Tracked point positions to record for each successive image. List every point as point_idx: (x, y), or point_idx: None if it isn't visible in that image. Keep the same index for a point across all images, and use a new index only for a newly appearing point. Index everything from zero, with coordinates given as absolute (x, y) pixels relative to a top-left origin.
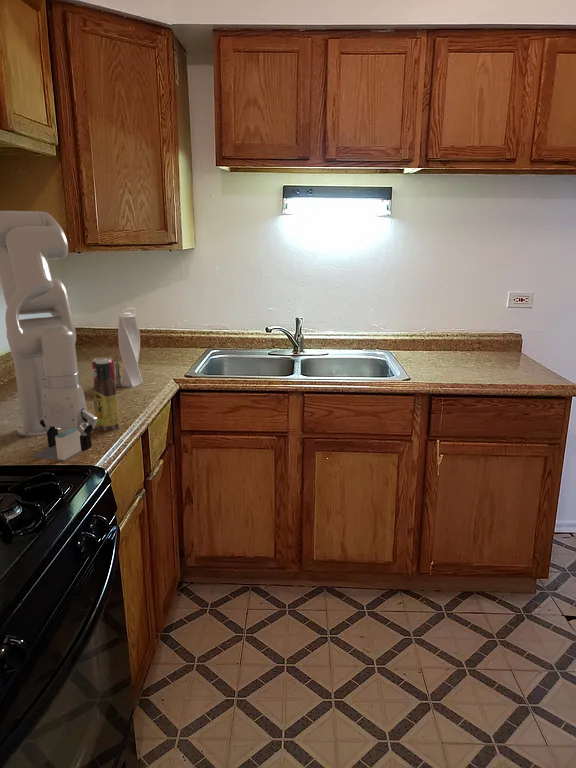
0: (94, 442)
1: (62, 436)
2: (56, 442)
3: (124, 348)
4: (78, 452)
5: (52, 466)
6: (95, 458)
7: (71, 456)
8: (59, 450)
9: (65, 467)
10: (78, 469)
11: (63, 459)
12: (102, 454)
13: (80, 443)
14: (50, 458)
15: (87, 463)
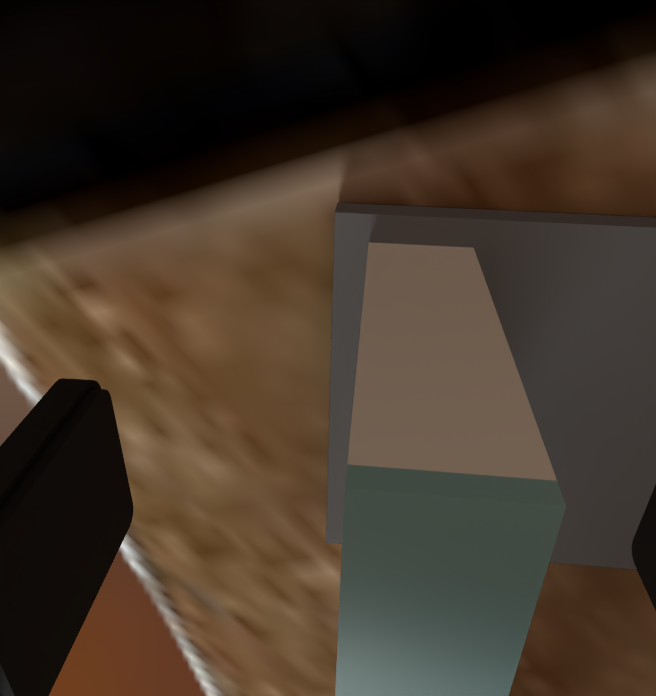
0: None
1: (343, 520)
2: (506, 390)
3: None
4: None
5: (452, 64)
6: None
7: (351, 367)
8: (437, 307)
9: (243, 91)
10: (28, 83)
11: (374, 247)
12: None
13: (49, 464)
14: (601, 248)
15: (82, 283)
